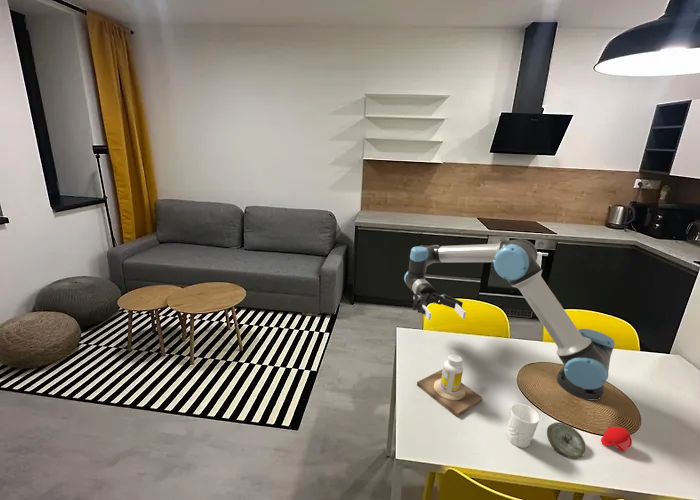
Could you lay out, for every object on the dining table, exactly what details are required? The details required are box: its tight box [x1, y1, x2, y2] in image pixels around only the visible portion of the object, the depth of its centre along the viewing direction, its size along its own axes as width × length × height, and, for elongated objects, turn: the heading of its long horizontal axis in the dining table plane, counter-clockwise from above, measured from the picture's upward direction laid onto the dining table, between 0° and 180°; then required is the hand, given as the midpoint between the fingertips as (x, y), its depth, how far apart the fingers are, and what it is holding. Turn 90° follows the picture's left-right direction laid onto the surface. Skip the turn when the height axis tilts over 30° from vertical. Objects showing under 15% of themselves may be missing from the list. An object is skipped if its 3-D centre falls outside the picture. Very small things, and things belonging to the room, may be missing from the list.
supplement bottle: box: [440, 353, 464, 394], centre depth 123 cm, size 7×7×13 cm
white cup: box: [505, 403, 541, 449], centre depth 107 cm, size 8×8×10 cm
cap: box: [600, 426, 633, 453], centre depth 108 cm, size 8×6×6 cm
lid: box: [546, 421, 587, 460], centre depth 106 cm, size 11×10×5 cm
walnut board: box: [416, 369, 483, 418], centre depth 126 cm, size 18×14×2 cm
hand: (447, 316), depth 127 cm, fingers open, 13 cm apart
